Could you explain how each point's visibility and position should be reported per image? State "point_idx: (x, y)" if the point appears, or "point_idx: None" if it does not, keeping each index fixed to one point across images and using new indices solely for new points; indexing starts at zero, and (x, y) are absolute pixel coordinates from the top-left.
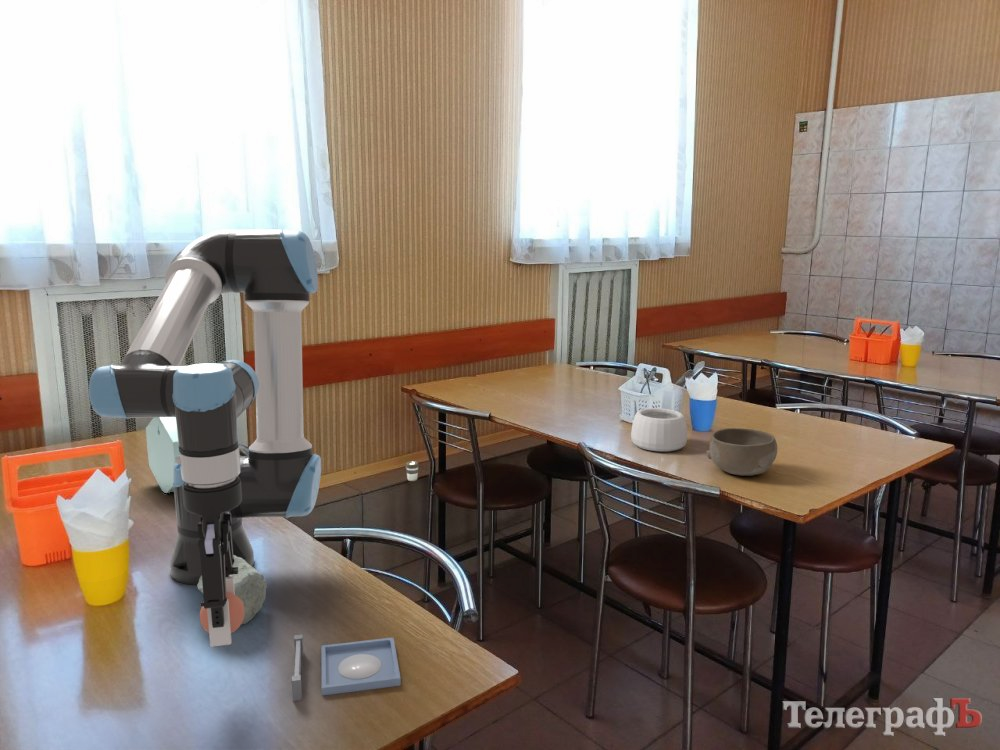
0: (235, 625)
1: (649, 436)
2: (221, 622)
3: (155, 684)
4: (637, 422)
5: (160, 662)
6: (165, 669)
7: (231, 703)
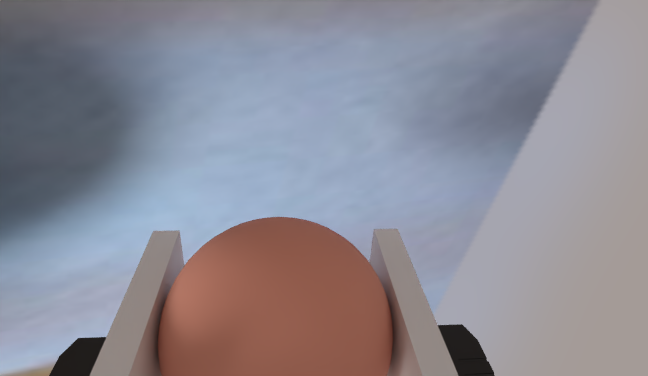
0: (359, 252)
1: None
2: (480, 355)
3: None
4: None
5: None
6: None
7: (369, 135)
